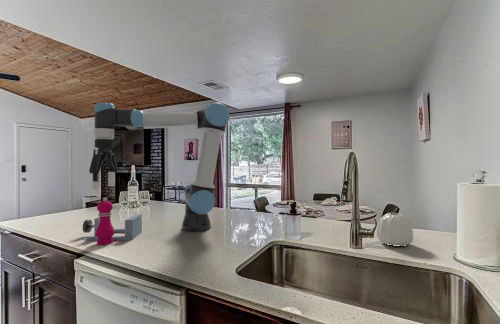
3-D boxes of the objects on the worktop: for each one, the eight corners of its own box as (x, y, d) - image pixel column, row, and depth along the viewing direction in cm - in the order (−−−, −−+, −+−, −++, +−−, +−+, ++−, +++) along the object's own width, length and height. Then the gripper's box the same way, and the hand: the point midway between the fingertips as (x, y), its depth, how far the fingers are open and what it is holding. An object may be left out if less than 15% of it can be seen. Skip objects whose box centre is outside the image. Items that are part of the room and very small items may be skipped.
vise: (142, 231, 139) (142, 213, 139) (131, 240, 124) (131, 220, 124) (102, 231, 138) (102, 214, 138) (86, 240, 123) (86, 220, 123)
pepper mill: (106, 246, 116) (106, 198, 116) (91, 245, 118) (91, 198, 117) (118, 241, 123) (117, 196, 123) (103, 240, 125) (103, 196, 124)
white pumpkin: (370, 241, 123) (370, 211, 123) (393, 238, 128) (393, 209, 128) (396, 251, 110) (396, 218, 110) (420, 247, 115) (421, 215, 115)
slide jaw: (110, 232, 136) (110, 214, 136) (100, 238, 126) (100, 218, 126) (91, 232, 136) (91, 214, 136) (80, 238, 126) (80, 219, 126)
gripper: (109, 140, 132) (108, 184, 132) (79, 136, 107) (79, 190, 107) (125, 140, 132) (124, 184, 133) (98, 136, 107) (98, 191, 108)
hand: (104, 187), depth 120 cm, fingers open, 13 cm apart
